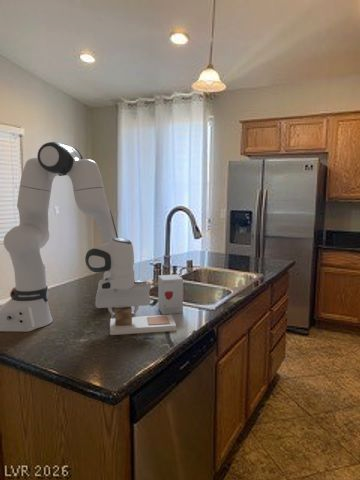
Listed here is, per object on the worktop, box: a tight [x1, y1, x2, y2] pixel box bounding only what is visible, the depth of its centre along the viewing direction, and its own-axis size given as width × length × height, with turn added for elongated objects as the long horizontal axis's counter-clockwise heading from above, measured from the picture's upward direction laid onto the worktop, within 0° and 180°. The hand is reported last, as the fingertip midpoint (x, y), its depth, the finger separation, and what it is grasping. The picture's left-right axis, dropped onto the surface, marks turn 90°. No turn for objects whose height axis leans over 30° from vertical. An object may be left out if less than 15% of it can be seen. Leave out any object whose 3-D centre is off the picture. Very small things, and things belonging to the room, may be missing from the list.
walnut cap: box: [114, 306, 133, 326], centre depth 138 cm, size 6×6×6 cm
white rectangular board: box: [109, 314, 177, 336], centre depth 140 cm, size 24×12×2 cm, turn 99°
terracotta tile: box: [147, 315, 170, 325], centre depth 141 cm, size 8×8×1 cm
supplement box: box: [157, 274, 184, 315], centre depth 157 cm, size 9×9×15 cm
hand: (123, 317), depth 138 cm, fingers closed on walnut cap, 6 cm apart
